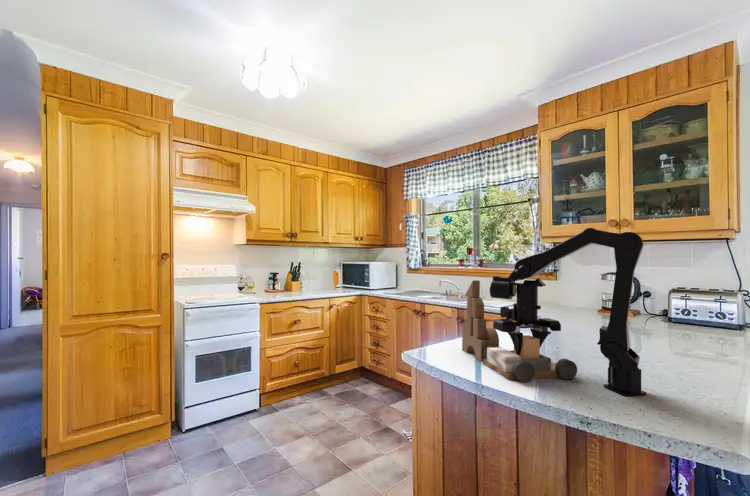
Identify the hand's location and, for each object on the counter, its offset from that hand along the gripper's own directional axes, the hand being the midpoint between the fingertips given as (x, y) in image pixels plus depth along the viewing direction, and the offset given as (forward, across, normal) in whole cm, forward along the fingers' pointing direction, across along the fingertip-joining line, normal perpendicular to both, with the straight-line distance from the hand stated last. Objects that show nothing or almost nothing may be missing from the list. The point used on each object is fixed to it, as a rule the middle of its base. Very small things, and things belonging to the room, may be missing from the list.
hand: (526, 354), depth 102 cm
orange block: (+1, 0, 0) cm, 1 cm away
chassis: (+4, 0, 0) cm, 4 cm away
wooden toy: (+5, +6, -17) cm, 19 cm away
